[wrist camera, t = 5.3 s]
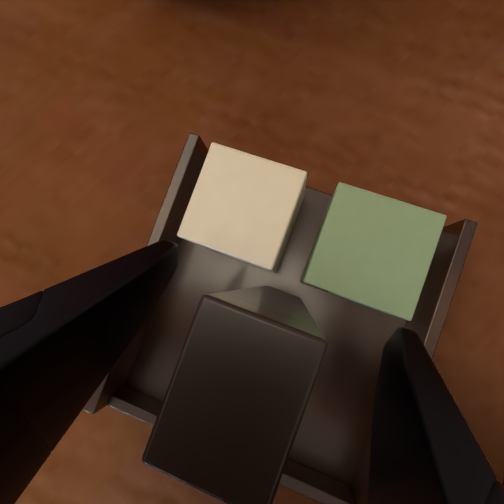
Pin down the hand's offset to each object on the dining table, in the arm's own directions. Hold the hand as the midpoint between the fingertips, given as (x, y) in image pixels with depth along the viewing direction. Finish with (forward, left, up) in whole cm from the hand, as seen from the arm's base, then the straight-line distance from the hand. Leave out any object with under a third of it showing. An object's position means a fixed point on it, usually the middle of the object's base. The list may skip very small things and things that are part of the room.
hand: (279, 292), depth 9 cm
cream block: (+4, 0, -7) cm, 8 cm away
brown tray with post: (-1, +1, -8) cm, 8 cm away
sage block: (0, -4, -7) cm, 8 cm away
